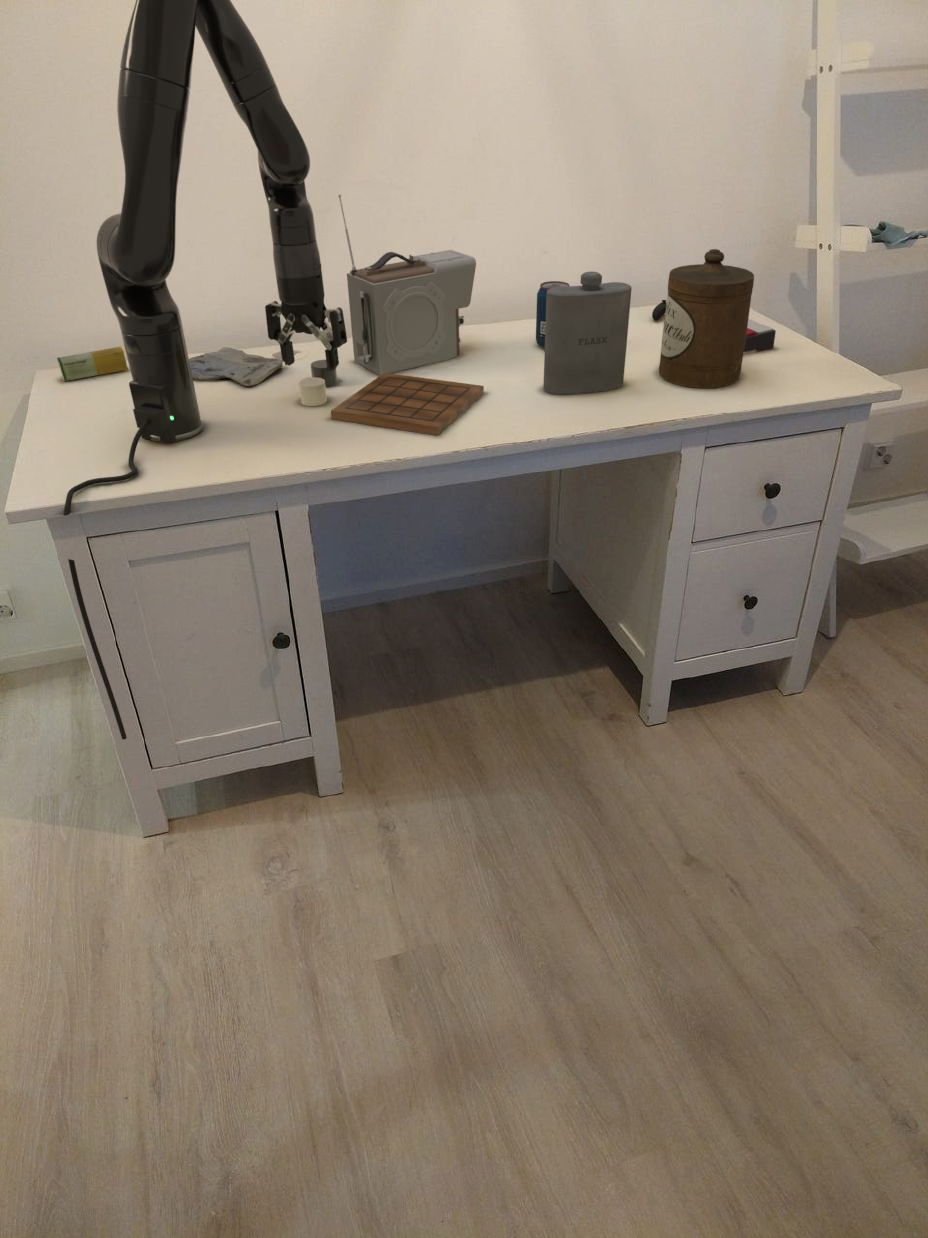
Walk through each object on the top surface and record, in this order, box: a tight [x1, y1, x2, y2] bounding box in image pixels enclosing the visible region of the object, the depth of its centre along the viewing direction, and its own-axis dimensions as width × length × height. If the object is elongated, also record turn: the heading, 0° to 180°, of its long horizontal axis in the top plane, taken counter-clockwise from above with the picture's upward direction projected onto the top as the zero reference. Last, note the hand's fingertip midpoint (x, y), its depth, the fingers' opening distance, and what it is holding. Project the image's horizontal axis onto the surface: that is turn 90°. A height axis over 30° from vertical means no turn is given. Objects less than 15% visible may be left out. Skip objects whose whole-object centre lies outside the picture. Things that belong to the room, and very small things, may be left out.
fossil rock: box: [189, 346, 284, 387], centre depth 170 cm, size 18×15×2 cm
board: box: [330, 373, 485, 436], centre depth 155 cm, size 20×20×2 cm
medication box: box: [56, 346, 129, 382], centre depth 170 cm, size 12×3×4 cm, turn 118°
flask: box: [542, 271, 633, 396], centre depth 155 cm, size 15×6×20 cm, turn 103°
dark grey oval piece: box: [651, 299, 667, 322], centre depth 195 cm, size 10×5×6 cm
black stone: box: [310, 359, 338, 388], centre depth 165 cm, size 5×5×4 cm
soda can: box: [535, 280, 570, 350], centre depth 178 cm, size 7×7×12 cm
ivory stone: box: [298, 376, 328, 407], centre depth 157 cm, size 5×5×4 cm
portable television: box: [337, 193, 477, 376], centre depth 168 cm, size 12×24×30 cm, turn 124°
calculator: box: [744, 318, 777, 354], centre depth 177 cm, size 11×4×15 cm
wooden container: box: [658, 248, 755, 389], centre depth 159 cm, size 15×15×22 cm
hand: (311, 366), depth 155 cm, fingers open, 8 cm apart
